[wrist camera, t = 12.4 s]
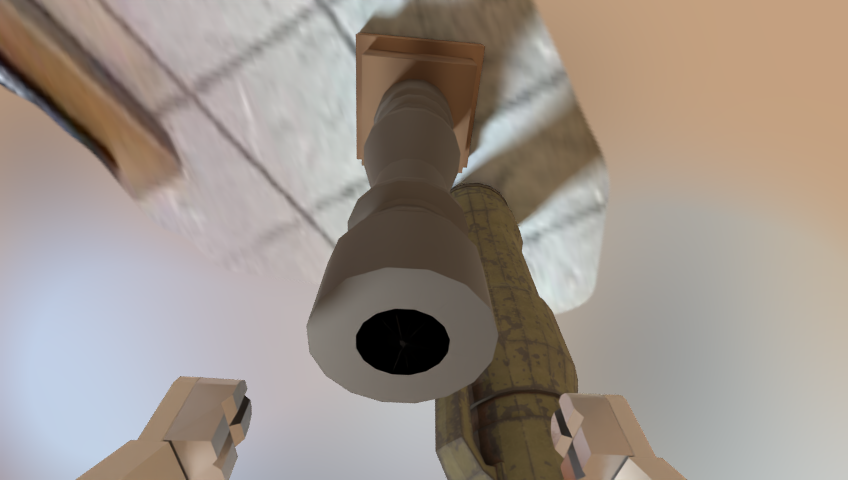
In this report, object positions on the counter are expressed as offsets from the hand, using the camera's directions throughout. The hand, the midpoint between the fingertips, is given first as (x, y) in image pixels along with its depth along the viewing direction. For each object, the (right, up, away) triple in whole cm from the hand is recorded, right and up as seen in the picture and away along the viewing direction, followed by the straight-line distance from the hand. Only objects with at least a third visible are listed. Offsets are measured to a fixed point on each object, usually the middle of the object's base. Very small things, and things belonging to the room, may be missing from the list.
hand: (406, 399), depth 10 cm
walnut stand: (0, +18, +28) cm, 33 cm away
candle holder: (0, +15, +23) cm, 27 cm away
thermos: (+6, +7, +35) cm, 36 cm away
